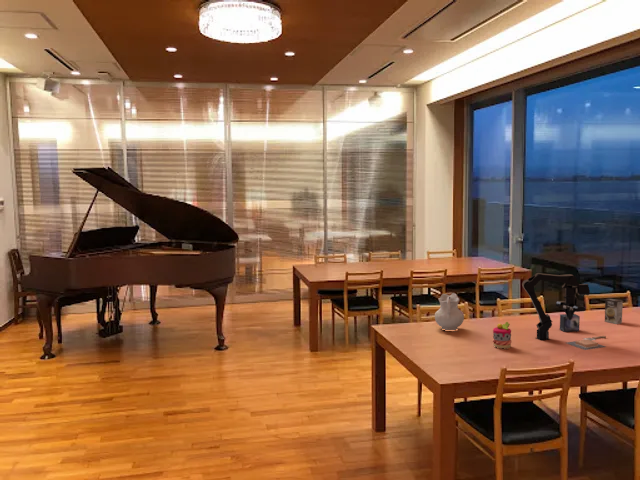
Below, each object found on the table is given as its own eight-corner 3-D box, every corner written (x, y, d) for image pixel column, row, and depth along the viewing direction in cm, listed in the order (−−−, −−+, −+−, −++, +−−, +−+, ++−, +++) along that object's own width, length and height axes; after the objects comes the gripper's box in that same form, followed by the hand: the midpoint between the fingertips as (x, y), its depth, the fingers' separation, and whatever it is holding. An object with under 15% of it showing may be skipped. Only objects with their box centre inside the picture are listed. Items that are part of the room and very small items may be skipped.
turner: (588, 341, 325) (588, 339, 325) (582, 339, 330) (582, 337, 330) (608, 339, 330) (608, 337, 330) (601, 337, 335) (601, 335, 334)
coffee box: (604, 321, 371) (604, 298, 370) (610, 320, 374) (610, 297, 372) (616, 324, 363) (616, 301, 361) (622, 323, 365) (623, 300, 364)
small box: (564, 332, 348) (564, 316, 347) (559, 329, 354) (559, 314, 353) (579, 331, 348) (580, 315, 347) (574, 329, 354) (575, 313, 353)
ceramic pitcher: (467, 335, 351) (469, 298, 348) (437, 334, 351) (440, 296, 349) (459, 327, 372) (461, 292, 370) (431, 325, 372) (433, 290, 370)
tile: (575, 344, 319) (585, 347, 312) (575, 341, 319) (585, 344, 311) (587, 342, 322) (598, 346, 314) (587, 339, 322) (598, 342, 314)
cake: (499, 350, 314) (499, 325, 312) (489, 345, 324) (489, 321, 323) (515, 348, 317) (515, 323, 315) (504, 343, 327) (504, 319, 325)
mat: (584, 350, 308) (584, 350, 308) (564, 343, 323) (564, 342, 323) (606, 347, 313) (606, 346, 312) (585, 340, 328) (585, 339, 328)
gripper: (592, 296, 320) (592, 322, 322) (569, 291, 338) (569, 315, 339) (577, 298, 317) (577, 323, 318) (555, 292, 335) (555, 317, 336)
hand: (570, 319), depth 328 cm, fingers closed
